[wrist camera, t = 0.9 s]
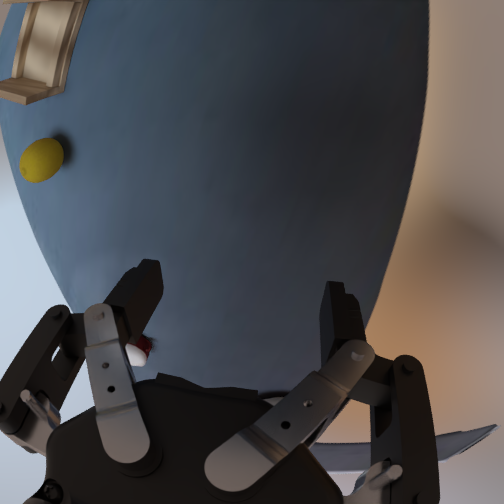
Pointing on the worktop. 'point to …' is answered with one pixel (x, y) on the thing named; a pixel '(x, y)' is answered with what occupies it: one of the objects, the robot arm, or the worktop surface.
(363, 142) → the worktop surface
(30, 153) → the lemon
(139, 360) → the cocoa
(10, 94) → the roll holder
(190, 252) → the worktop surface
